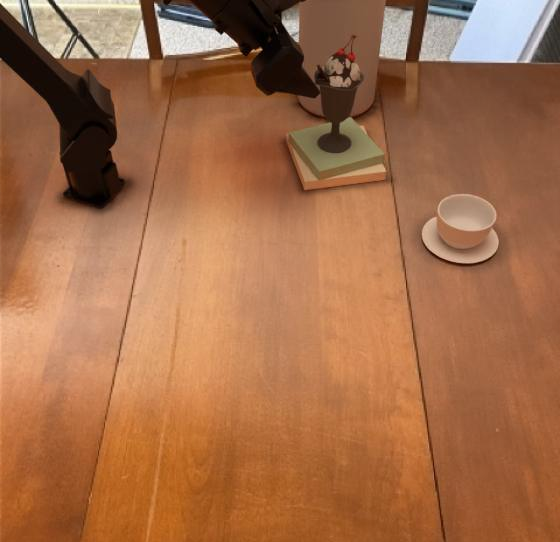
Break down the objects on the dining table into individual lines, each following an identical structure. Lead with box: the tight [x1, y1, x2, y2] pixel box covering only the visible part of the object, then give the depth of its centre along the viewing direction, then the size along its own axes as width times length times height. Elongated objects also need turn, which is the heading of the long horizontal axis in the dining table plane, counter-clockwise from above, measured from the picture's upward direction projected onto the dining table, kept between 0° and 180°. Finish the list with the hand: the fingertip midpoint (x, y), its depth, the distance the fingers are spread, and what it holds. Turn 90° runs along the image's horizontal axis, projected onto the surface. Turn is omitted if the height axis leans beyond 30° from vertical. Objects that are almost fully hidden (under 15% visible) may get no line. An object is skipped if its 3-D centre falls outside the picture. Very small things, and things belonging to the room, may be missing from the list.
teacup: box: [421, 193, 499, 264], centre depth 88 cm, size 10×10×5 cm
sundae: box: [314, 35, 364, 153], centre depth 92 cm, size 7×7×15 cm
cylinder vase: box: [297, 0, 387, 118], centre depth 101 cm, size 12×12×25 cm
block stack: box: [286, 117, 387, 191], centre depth 99 cm, size 12×12×3 cm
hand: (309, 76), depth 90 cm, fingers open, 9 cm apart
